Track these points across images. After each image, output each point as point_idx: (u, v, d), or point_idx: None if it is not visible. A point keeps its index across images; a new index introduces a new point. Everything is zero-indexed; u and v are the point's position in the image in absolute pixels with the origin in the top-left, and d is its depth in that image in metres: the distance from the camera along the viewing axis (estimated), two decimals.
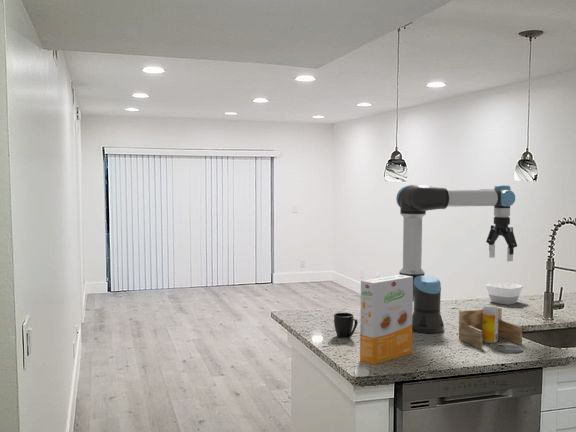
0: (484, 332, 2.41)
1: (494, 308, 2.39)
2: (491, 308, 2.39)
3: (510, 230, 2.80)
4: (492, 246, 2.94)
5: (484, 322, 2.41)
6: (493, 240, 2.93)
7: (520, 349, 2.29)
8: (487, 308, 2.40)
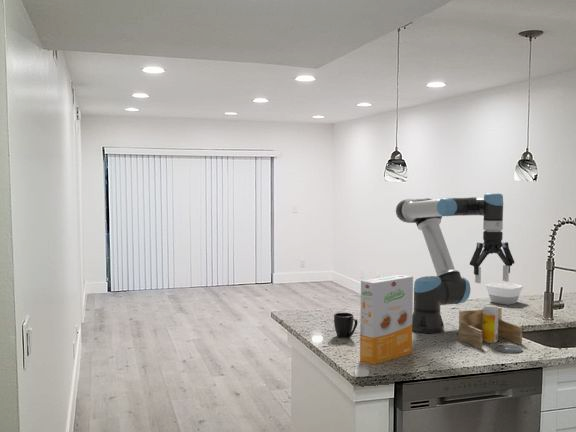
0: (484, 332, 2.41)
1: (494, 308, 2.39)
2: (491, 308, 2.39)
3: (478, 246, 2.38)
4: (504, 267, 2.43)
5: (484, 322, 2.41)
6: (503, 260, 2.43)
7: (520, 349, 2.29)
8: (487, 308, 2.40)
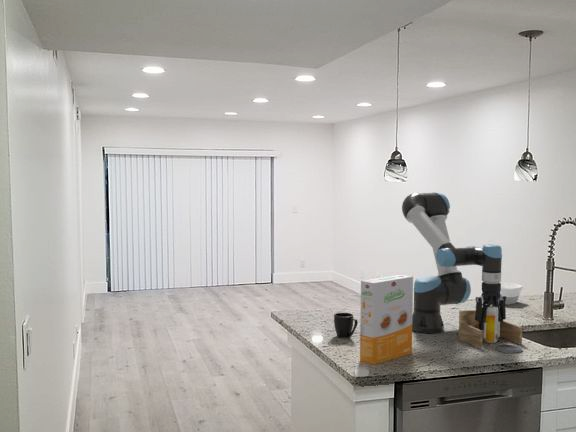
0: None
1: (494, 308, 2.39)
2: (491, 308, 2.39)
3: (477, 301, 2.40)
4: None
5: None
6: None
7: (520, 349, 2.29)
8: (487, 308, 2.40)
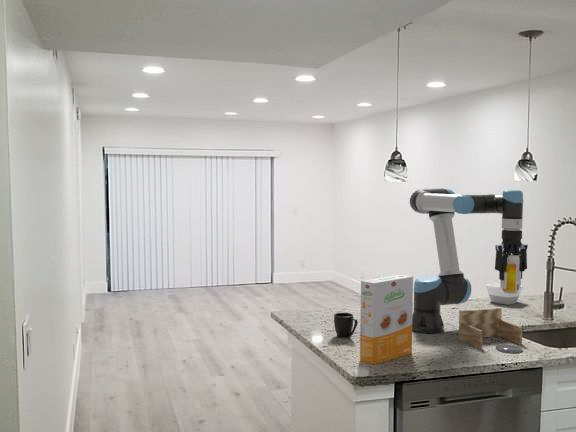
0: None
1: (515, 256, 2.27)
2: (512, 256, 2.26)
3: (497, 249, 2.27)
4: None
5: None
6: None
7: (520, 349, 2.29)
8: (508, 257, 2.27)
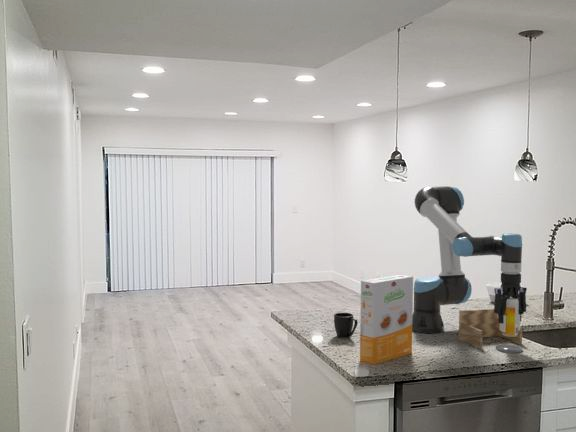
0: None
1: (514, 300, 2.27)
2: (511, 300, 2.27)
3: (496, 292, 2.28)
4: None
5: None
6: None
7: (520, 349, 2.29)
8: (507, 300, 2.28)
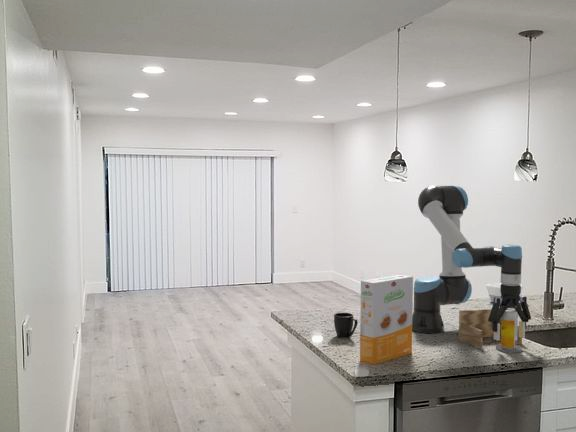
0: (503, 338, 2.30)
1: (513, 313, 2.28)
2: (510, 313, 2.28)
3: (495, 301, 2.28)
4: (521, 323, 2.33)
5: (503, 328, 2.30)
6: (519, 315, 2.32)
7: (520, 349, 2.29)
8: (506, 313, 2.29)
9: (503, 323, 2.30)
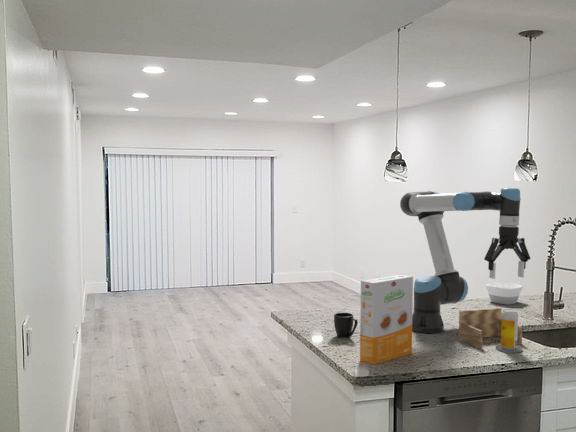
0: (503, 338, 2.30)
1: (514, 313, 2.28)
2: (510, 313, 2.28)
3: (493, 241, 2.36)
4: (520, 263, 2.40)
5: (503, 328, 2.30)
6: (518, 255, 2.40)
7: (520, 349, 2.29)
8: (506, 313, 2.29)
9: (503, 323, 2.30)
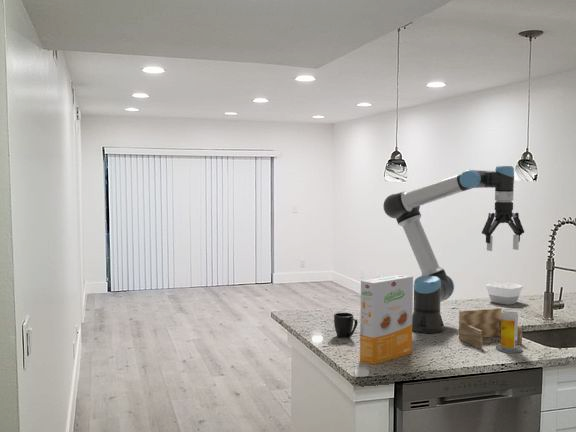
0: (503, 338, 2.30)
1: (514, 313, 2.28)
2: (510, 313, 2.28)
3: (489, 216, 2.51)
4: (515, 236, 2.56)
5: (503, 328, 2.30)
6: (513, 229, 2.55)
7: (520, 349, 2.29)
8: (506, 313, 2.29)
9: (503, 323, 2.30)
